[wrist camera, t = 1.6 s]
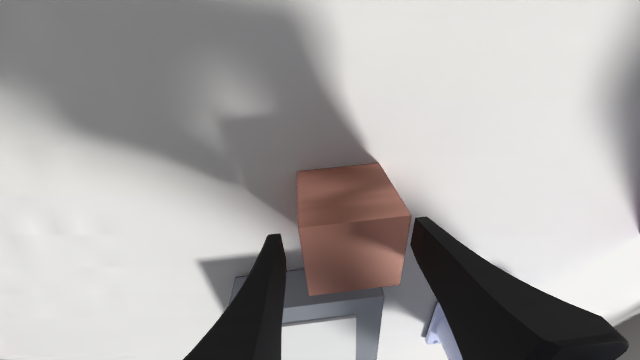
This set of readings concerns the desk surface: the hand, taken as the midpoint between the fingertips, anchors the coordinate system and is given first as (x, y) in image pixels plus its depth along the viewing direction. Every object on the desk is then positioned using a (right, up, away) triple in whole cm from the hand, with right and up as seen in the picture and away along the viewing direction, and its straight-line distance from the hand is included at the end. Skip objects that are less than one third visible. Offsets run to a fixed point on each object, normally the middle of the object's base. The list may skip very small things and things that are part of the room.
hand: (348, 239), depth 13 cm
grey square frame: (-2, -9, +9) cm, 13 cm away
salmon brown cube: (0, +2, +3) cm, 4 cm away
